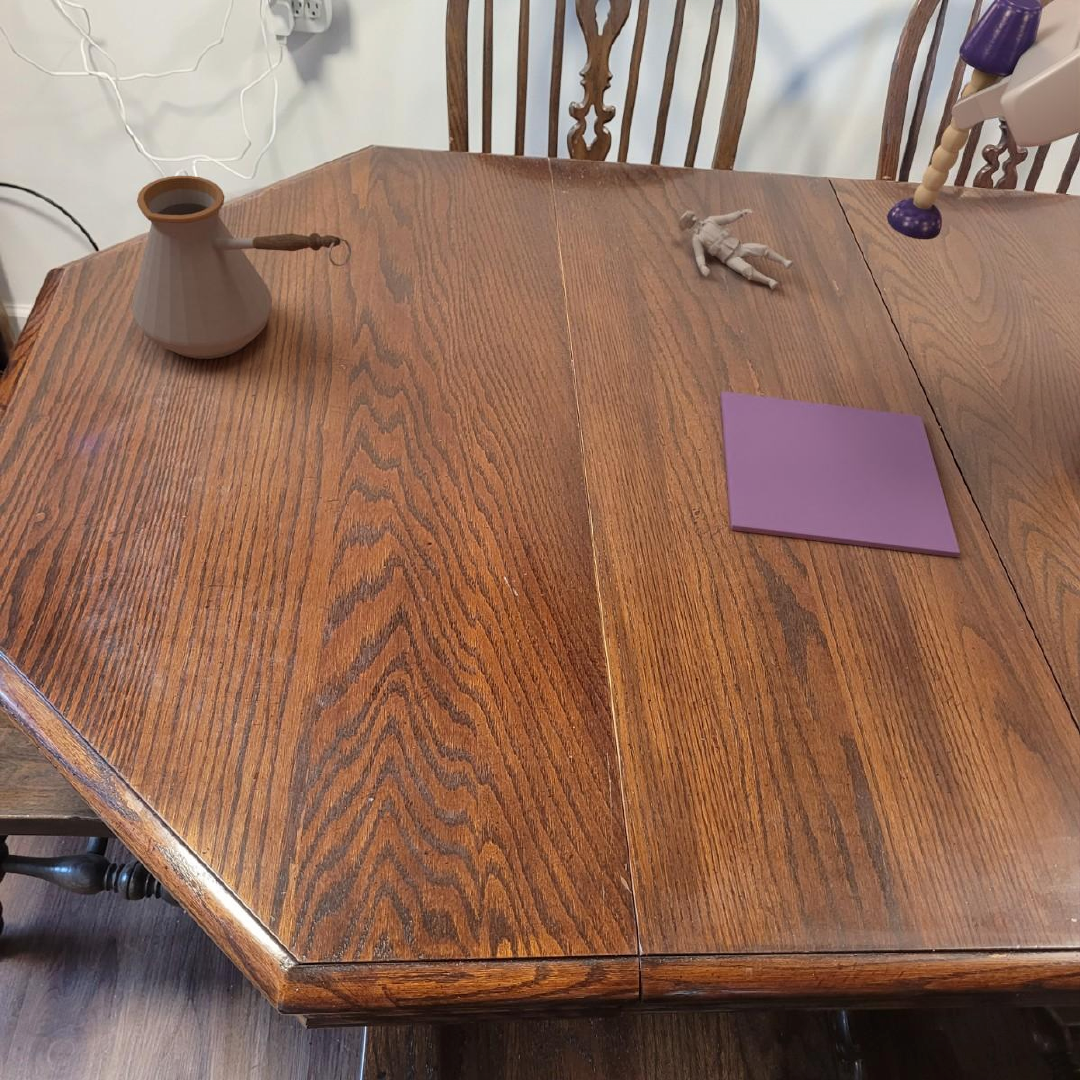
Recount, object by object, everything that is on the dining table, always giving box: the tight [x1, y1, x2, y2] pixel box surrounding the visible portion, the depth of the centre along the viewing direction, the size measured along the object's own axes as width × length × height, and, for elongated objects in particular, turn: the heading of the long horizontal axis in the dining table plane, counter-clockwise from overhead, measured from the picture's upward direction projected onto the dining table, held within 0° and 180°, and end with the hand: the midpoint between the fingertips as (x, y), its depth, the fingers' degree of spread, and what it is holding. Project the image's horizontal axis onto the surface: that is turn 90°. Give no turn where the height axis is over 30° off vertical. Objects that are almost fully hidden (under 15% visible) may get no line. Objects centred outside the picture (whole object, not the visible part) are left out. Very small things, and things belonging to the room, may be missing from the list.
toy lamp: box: [886, 0, 1043, 241], centre depth 68 cm, size 5×5×17 cm
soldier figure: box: [678, 208, 795, 290], centre depth 96 cm, size 8×5×12 cm
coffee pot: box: [131, 175, 352, 360], centre depth 76 cm, size 21×12×15 cm, turn 61°
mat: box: [720, 390, 961, 558], centre depth 78 cm, size 18×16×1 cm
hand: (960, 108), depth 67 cm, fingers closed on toy lamp
